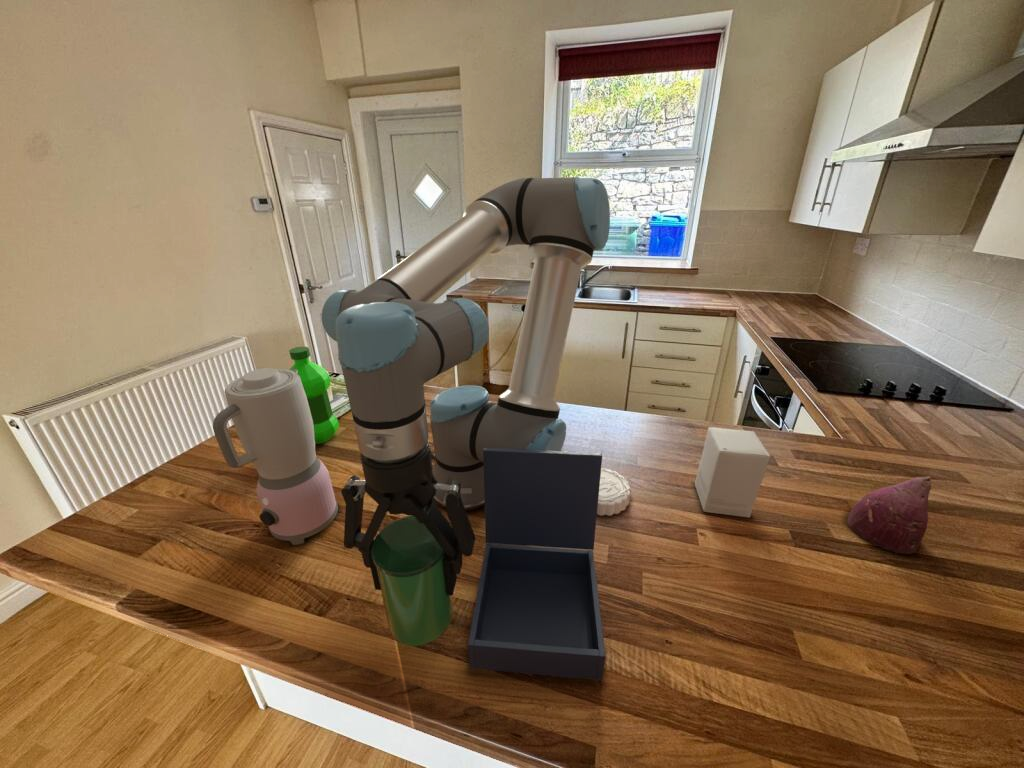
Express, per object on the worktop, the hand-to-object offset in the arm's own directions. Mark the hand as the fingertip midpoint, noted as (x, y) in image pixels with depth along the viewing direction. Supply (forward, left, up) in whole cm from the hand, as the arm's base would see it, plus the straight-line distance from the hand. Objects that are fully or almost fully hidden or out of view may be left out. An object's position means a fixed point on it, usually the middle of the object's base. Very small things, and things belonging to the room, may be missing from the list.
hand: (416, 583), depth 54 cm
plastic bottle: (-63, -12, -11) cm, 65 cm away
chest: (+5, +16, -11) cm, 20 cm away
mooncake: (-13, +41, -11) cm, 45 cm away
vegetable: (+18, +83, -11) cm, 86 cm away
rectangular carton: (-1, +63, -11) cm, 64 cm away
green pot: (0, 0, -6) cm, 6 cm away
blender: (-31, -17, -11) cm, 37 cm away
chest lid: (-3, +20, +4) cm, 21 cm away
